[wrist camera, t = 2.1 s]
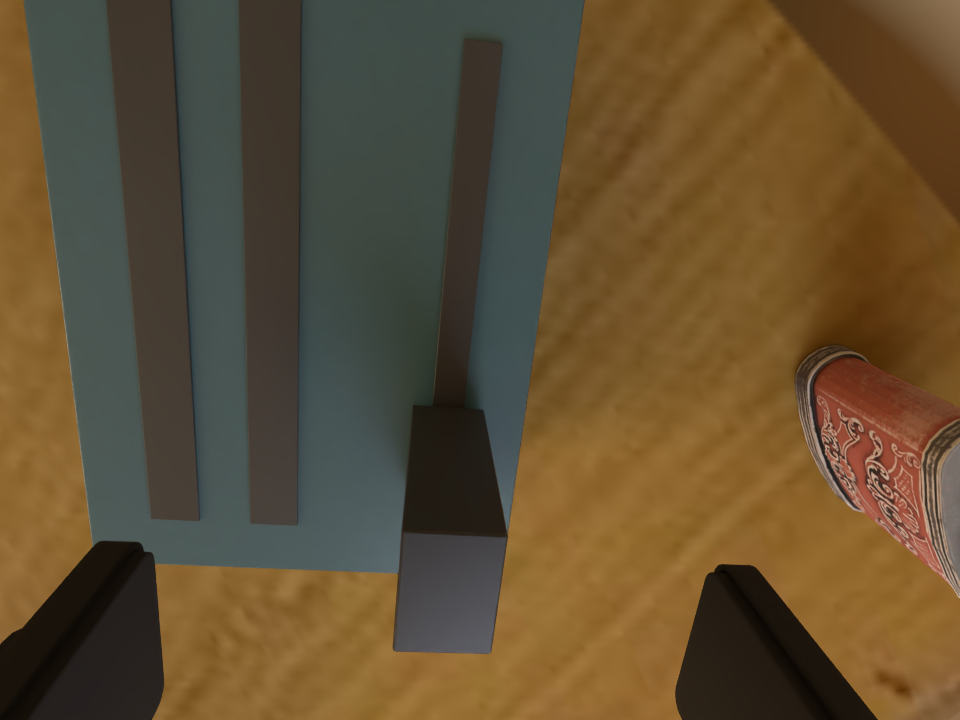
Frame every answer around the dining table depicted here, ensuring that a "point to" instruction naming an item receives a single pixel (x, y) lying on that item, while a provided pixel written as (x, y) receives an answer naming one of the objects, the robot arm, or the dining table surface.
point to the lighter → (886, 452)
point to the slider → (449, 536)
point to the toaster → (294, 254)
